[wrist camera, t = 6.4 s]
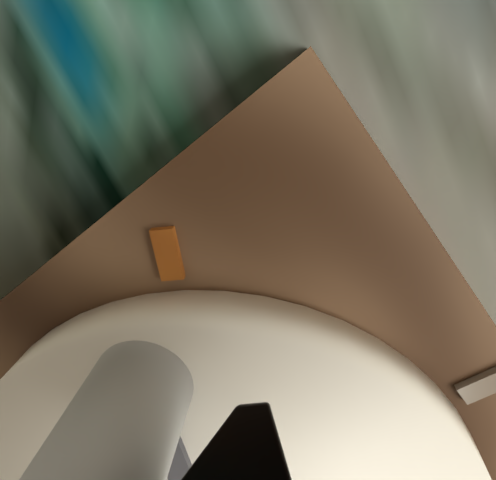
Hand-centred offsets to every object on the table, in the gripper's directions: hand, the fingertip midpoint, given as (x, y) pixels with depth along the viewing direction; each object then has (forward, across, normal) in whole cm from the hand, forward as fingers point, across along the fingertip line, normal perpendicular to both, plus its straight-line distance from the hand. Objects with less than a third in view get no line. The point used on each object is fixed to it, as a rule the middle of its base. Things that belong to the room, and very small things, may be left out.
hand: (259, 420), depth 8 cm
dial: (+4, +3, +7) cm, 8 cm away
